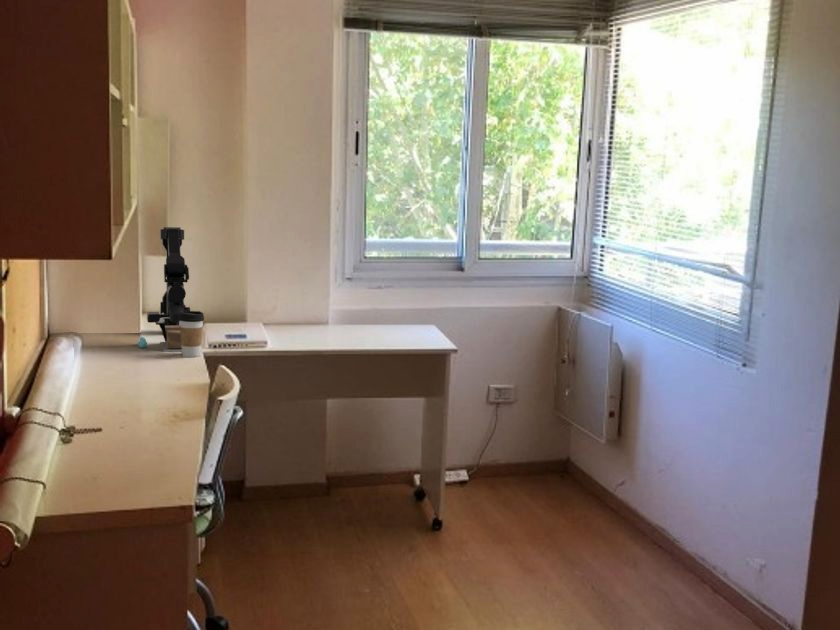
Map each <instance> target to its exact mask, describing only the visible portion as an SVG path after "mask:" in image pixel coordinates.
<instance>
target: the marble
mask: <svg viewBox="0 0 840 630" xmlns="http://www.w3.org/2000/svg"><path fill="white" fill-rule="evenodd" d="M137 345H138V347H139V348H141V349H144V348H146V347H147V346H148V341H147V340H146V341H145V340H143V339H142V340H140V341H139V342H138V343H137Z"/></svg>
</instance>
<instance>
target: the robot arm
mask: <svg viewBox="0 0 840 630" xmlns="http://www.w3.org/2000/svg"><path fill="white" fill-rule="evenodd" d="M159 231H160V233H159V239H160V240H161V244H162V246H163V248H164V249H165V251H166V253H165V254H166V258H165V264H163V278H164V279H163V281H164V283H166V290H165V292H164V294H163V295H162V297H161V299H162V300H161V301H160V302H159V303H160V306H159V311H148V312H147V313H146V320H147V323H149V324H150V323H151V324H152V323H155V325H157V326H158V327H159V328H160V330H161V332H162V335H163V339H164V342H165V341H166V330H165V326H170V325H180V320H179V318H178V317H179V312H180V311H191V308H190V306H186V305H185V303H184V302H185V298H186V295H187V294H186V290H185V284H184V283H188V280H190V272H189V271H190V270H189V267H188V265H187V264H186V261H185V258H184V257H183V256H182V255H181V247H182V245H183V241H185V229H181V227H179V226H178V227H176V226H175V227H174V226H164V227H163V228H161V229H160V230H159ZM197 311H198V310H197ZM198 312H202V311H201V310H199V311H198Z"/></svg>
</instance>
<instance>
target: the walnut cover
mask: <svg viewBox="0 0 840 630" xmlns="http://www.w3.org/2000/svg"><path fill="white" fill-rule="evenodd" d="M165 330H166V341H165V340H164V342H166V345H167V347H168V348H182V346H181V336H180V325H170V326H165Z"/></svg>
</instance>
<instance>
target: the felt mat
mask: <svg viewBox="0 0 840 630" xmlns="http://www.w3.org/2000/svg"><path fill="white" fill-rule="evenodd" d="M159 344H160V346H161V348H162V351H163V353H171V352H173V353H174V352H182V348H168V347H167V345H166V342H165V341H160V342H159Z"/></svg>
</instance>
